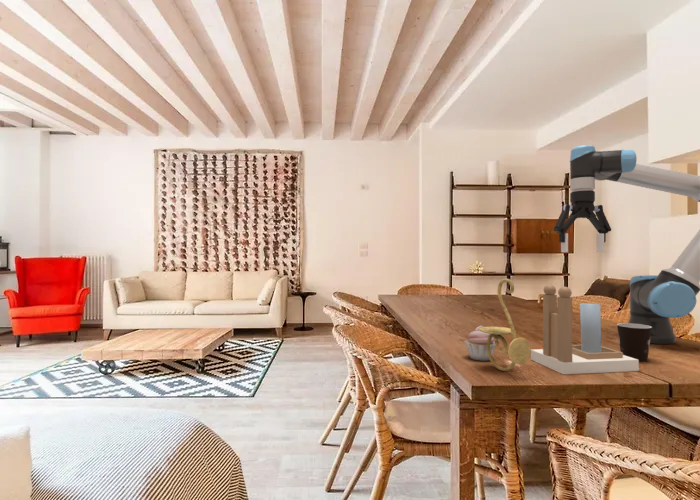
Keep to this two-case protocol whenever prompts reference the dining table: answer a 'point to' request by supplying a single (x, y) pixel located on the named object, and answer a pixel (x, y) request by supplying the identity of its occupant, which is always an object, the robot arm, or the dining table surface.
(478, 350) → the cupcake
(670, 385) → the dining table surface
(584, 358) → the peg insertion fixture
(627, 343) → the coffee mug
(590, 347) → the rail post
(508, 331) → the wall sconce
